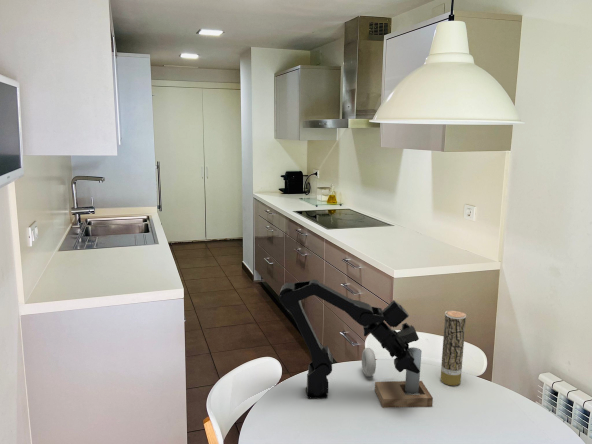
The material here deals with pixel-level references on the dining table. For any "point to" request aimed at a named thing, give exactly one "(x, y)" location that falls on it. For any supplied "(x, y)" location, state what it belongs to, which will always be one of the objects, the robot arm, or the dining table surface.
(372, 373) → the donut
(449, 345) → the bark textured cylinder
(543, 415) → the dining table surface
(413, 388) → the peg
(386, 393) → the socket block
